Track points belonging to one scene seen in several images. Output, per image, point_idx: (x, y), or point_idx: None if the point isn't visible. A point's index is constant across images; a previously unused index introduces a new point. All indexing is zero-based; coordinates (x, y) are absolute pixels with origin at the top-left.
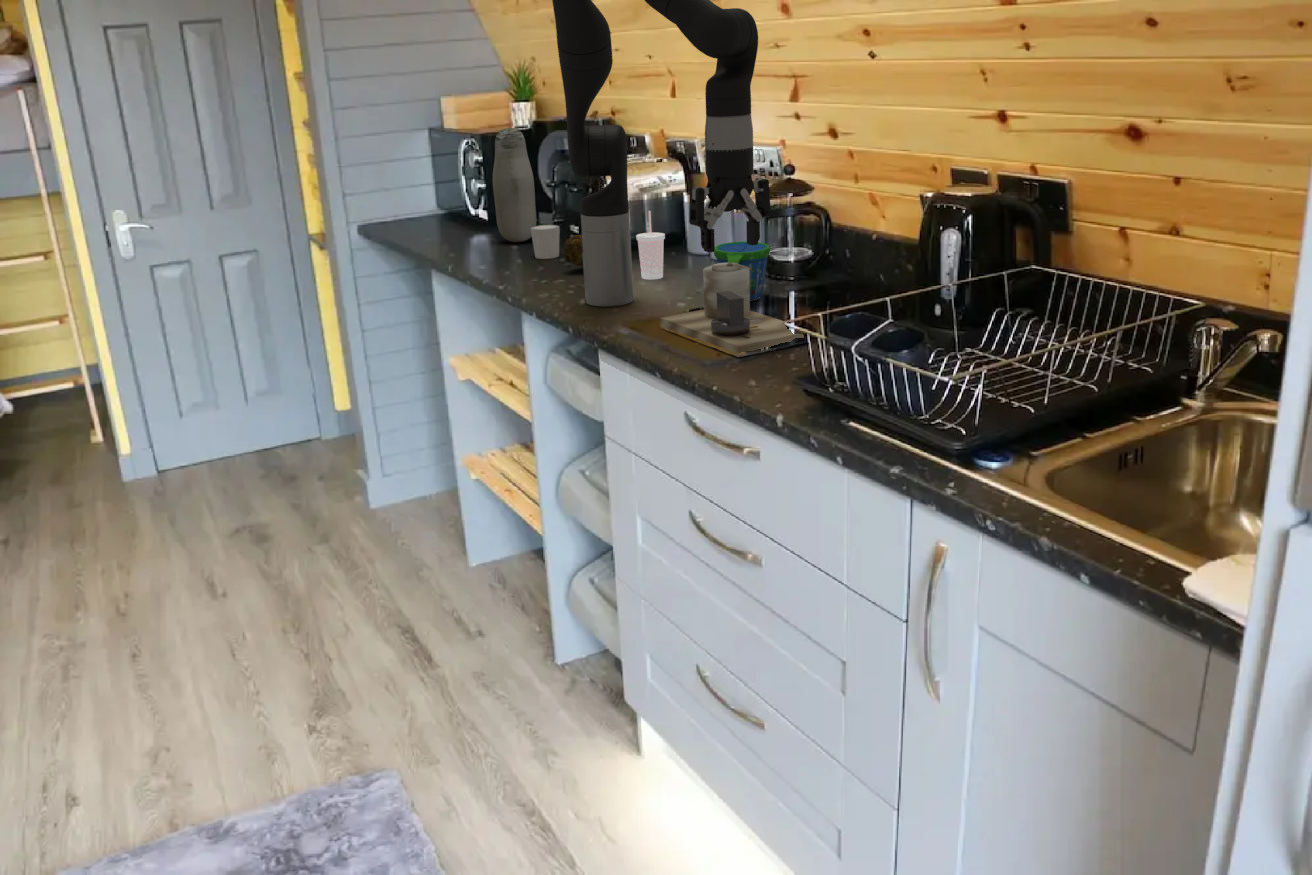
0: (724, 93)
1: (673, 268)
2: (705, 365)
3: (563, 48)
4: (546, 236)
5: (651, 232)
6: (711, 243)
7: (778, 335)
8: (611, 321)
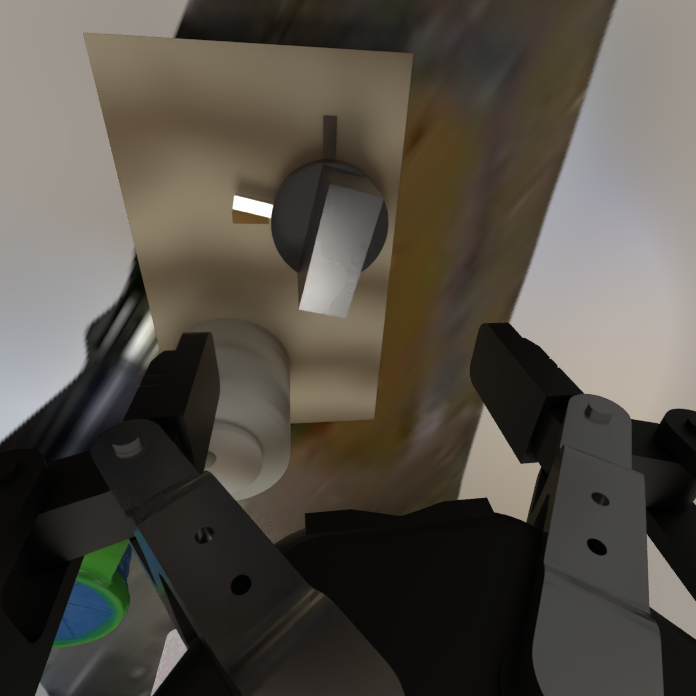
0: None
1: (127, 659)
2: (512, 67)
3: None
4: None
5: None
6: (524, 343)
7: (231, 72)
8: (403, 480)
